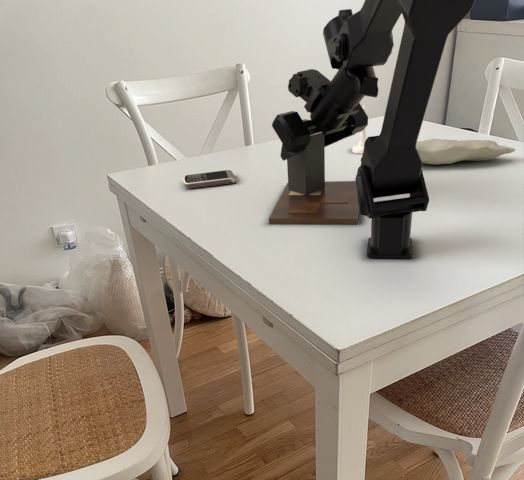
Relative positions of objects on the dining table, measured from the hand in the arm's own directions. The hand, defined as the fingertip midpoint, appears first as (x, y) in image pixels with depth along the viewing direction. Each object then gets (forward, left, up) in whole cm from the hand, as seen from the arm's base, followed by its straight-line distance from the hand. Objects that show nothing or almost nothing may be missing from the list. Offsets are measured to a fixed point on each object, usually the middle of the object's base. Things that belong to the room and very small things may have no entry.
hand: (300, 152), depth 101 cm
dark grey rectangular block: (-1, -1, -7) cm, 7 cm away
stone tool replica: (+19, -29, -8) cm, 36 cm away
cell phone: (+7, +21, -8) cm, 23 cm away
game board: (-6, -4, -8) cm, 11 cm away
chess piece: (+30, -10, -8) cm, 33 cm away
